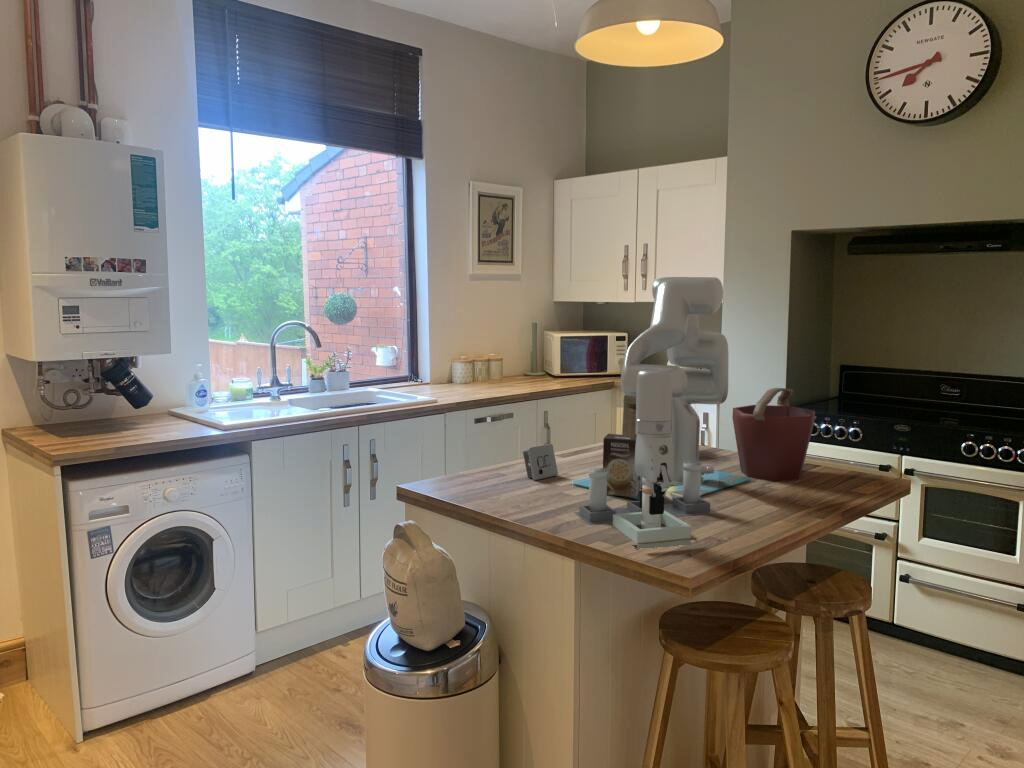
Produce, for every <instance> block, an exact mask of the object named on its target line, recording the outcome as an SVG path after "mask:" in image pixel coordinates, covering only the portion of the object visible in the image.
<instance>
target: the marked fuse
mask: <svg viewBox="0 0 1024 768" xmlns="http://www.w3.org/2000/svg"><path fill="white" fill-rule="evenodd" d="M657 481H661V479H657ZM642 484H643V486H642V520H641V525H640V528H641V529H648V528H658V527H662V523H661V514H657V515H651V514H649V499H650V496H652V495H651V482H650V481H648V480H646V479H645V478H643V477H642ZM658 486H660V484H659V485H656V488H657V487H658Z"/></svg>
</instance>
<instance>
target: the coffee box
mask: <svg viewBox="0 0 1024 768" xmlns="http://www.w3.org/2000/svg"><path fill="white" fill-rule="evenodd" d="M636 437H637V436H630V435H622V434H618V433H617V434H616V433H607V434H606V435H605V436H604V438H603V447H602V448H603V453H602V468H604V469H607V470H608V476H607V496H608V495H609V496H619V497H630V498H637V497H638V495H640V489H639V480H638V476H637V474H636V472H635V446H636Z"/></svg>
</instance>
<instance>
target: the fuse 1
mask: <svg viewBox="0 0 1024 768" xmlns="http://www.w3.org/2000/svg"><path fill="white" fill-rule="evenodd" d="M607 476H608V470H607V469H604V468H603V467H591V468H589V469H588V478H589V482H588V483H589V485H588V489H589V490H588V505H589V511H590V512H591V513H592V512H603V511H606V508H607V505H608V504H607V501H608V500H607V499H608V498H607V497H608V495H607Z"/></svg>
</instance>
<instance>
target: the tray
mask: <svg viewBox="0 0 1024 768" xmlns="http://www.w3.org/2000/svg"><path fill="white" fill-rule="evenodd" d="M641 520H642V512H635V513H623V514H613V523H612V526H613V527H614V528H615V529H617V530H618V531H619V532H621V533H622V534H624V535H625V536H626V537H628V538H629V539H630V540H632V541H633V542H635V543H636V544H631V545H632V546H634V547H635V548H637V549H640V548H653V549H658V548H657V547H663V548H670V546H673V547H680V546H679V545H682V546H691V545H690V544H692V539H691V538H692V526H691V525H690V524H688V523H687V522H685V521H683V520H681V519H680V518H679V517H675V516H673V515H671V514H670V513H668V512H666V511H665V510H664V513H663V514H661V525H664V526H661V527H658V528H648V529H643V528H639V527H638V526H641ZM632 546H631V547H632ZM655 547H656V548H655ZM635 548H634V549H635Z"/></svg>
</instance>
